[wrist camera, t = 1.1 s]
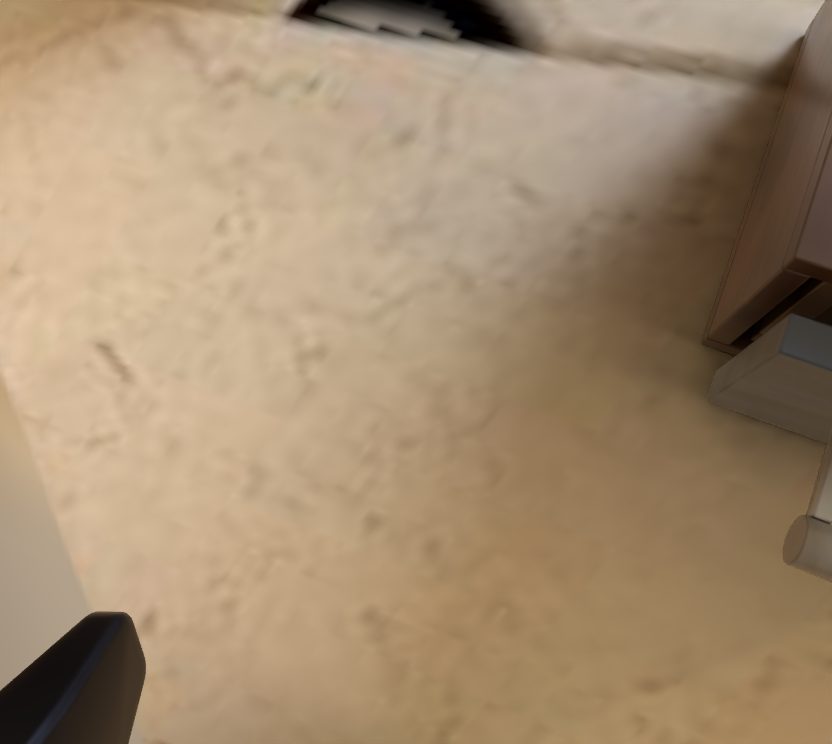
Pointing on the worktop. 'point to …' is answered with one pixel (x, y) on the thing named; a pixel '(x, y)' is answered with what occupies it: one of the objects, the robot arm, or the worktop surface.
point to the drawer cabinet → (784, 202)
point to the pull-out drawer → (792, 402)
